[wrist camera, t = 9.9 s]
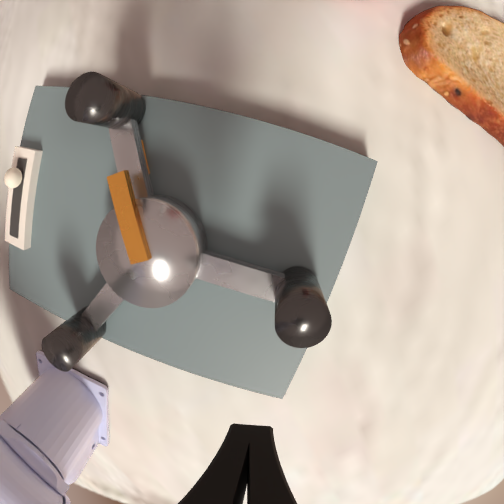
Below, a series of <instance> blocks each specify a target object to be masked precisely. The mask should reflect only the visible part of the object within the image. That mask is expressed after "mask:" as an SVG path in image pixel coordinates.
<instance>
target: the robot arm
mask: <svg viewBox="0 0 504 504" xmlns="http://www.w3.org/2000/svg"><path fill="white" fill-rule="evenodd" d="M36 357H37V365H38V372H39V377H38V378H37V379H36V380H35V381H34V382H33V383H32V384H31V385H30V386H29V387H28V388H27V389H26V390H25V391H24V392H23V393H22V394H21V395H20V396H19V397H18V398H17V399H16V400H15V401H14V402H13V403H12V404H11V405H10V406H9V407H8V408H7V409H6V410H5V411H4V412H3V413H2V414H1V416H0V504H71V503H70V499H69V498H68V496H67V495H66V492H67V491H68V489H69V485H70V484H72V483H73V482H75V481H76V480H77V479H78V477H79V475H80V474H81V472H82V470H83V469H84V467H85V465H86V464H87V462H88V460H89V459H90V457H91V455H92V454H93V452H94V450H95V449H96V447H97V445H98V444H102V445H104V446H108V445H109V427H108V388H107V387H106V386H105V385H104V384H102V383H100V382H98V381H96V380H94V379H92V378H90V377H88V376H86V375H84V374H82V373H80V372H78V371H76V370H74V369H71V370H70V371H67V372H64V371H61V370H58V369H57V368H55V367H54V366H53V365H52V364H51V363H50V362H49V361H48V359H47V358H46V356H45V354H44V352H42V351H38V352H37V353H36ZM246 486H247V504H297V502H296V501H295V499H294V496H293V494H292V492H291V490H290V488H289V485H288V483H287V481H286V478H285V475H284V473H283V470H282V467H281V465H280V461H279V458H278V455H277V451H276V447H275V442H274V436H273V428H271V427H270V426H257V425H243V424H232V425H230V428H229V431H228V433H227V435H226V437H225V440H224V442H223V443H222V445H221V447H220V449H219V451H218V452H217V454H216V456H215V457H214V459H213V460H212V462H211V463H210V465H209V466H208V468H207V469H206V471H205V472H204V474H203V475H202V476H201V477H200V479H199V480H198V481H197V483H196V484H195V485H194V486H193V488H192V489H191V490H190V491H189V492H188V493H187V495H186V496H185V497H184V498H183V499H182V500H181V501H180V502H179V503H178V504H243V500H244V495H245V491H246Z"/></svg>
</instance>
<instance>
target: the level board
mask: <svg viewBox="0 0 504 504" xmlns="http://www.w3.org/2000/svg"><path fill="white" fill-rule="evenodd" d="M69 88H70V87H55V86H36V87H35V90H34V93H33V97H32V100H31V104H30V107H29V111H28V115H27V119H26V123H25V127H24V131H23V136H22V140H21V145H20V146H15V151H14V156H13V162H12V168H10V169H9V170H8V171H7V172H6V174H5V177H4V181H5V184H6V185H7V187H9V190H8V199H7V210H6V225H5V241H6V242H8V243H9V283H10V289H11V290H12V291H14V292H16V293H17V294H19V295H21V296H22V297H24V298H26V299H28V300H29V301H31V302H33V303H35V304H36V305H38V306H40V307H42V308H44V309H45V310H47V311H49V312H51V313H53V314H55V315H57V316H58V317H60V318H62V319H64V320H68V319H69V318H70V317H72V316H73V315H74V314H75V313H77V312H78V311H79V310H81V309H82V308H84V307H88V306H89V304H90V303H91V302H92V301H93V299H94V298H95V297H96V295H97V294H98V293H99V292H100V290H101V289H102V288H103V287H104V285H105V284H106V283H107V282H106V281H105V279H104V277H103V275H102V273H101V271H100V268H99V265H98V261H97V256H96V239H97V234H98V231H99V227H100V225H101V223H102V221H103V220H104V218H105V217H106V215H107V214H108V213H109V212H110V211H111V210H112V209H113V208H114V205H113V201H112V197H111V193H110V189H109V185H108V181H107V177H108V176H110V175H113V174H115V173H118V172H117V167H116V163H115V158H114V153H113V149H112V144H111V139H110V134H109V128H106V127H101V126H96V125H92V124H87V123H82V122H77V121H74V120H72V119H70V118H69V116H68V115H67V113H66V110H65V98H66V94H67V92H68V90H69ZM141 96H142V97H143V99H144V101H145V105H146V110H145V114H144V117H143V119H142V121H141V122H140V123H139V124H138V129H139V134H140V138H141V143H142V147H143V152H144V156H145V161H146V165H147V169H148V173H149V177H150V181H151V185H152V189H153V193H154V195H165V196H170V197H173V198H176V199H178V200H180V201H182V202H183V203H185V204H186V205H188V206H189V207H190V208H191V209H192V210H193V211H194V212H195V214H196V215H197V216H198V218H199V219H200V221H201V223H202V225H203V227H204V230H205V233H206V238H207V250H209V251H213V252H216V253H219V254H222V255H226V256H229V257H232V258H236V259H239V260H242V261H245V262H249V263H252V264H255V265H259V266H262V267H265V268H269V269H272V270H275V271H279V272H283V271H284V270H286V269H287V268H290V267H294V266H302V267H305V268H308V269H309V270H311V271H312V272H313V273H314V274H315V275H316V277H317V279H318V282H319V285H320V287H321V290H322V293H323V295H324V298H325V301H326V303H327V301H328V299H329V296H330V294H331V291H332V289H333V286H334V284H335V281H336V279H337V276H338V274H339V271H340V269H341V266H342V264H343V261H344V258H345V256H346V253H347V250H348V248H349V245H350V242H351V240H352V237H353V234H354V231H355V228H356V226H357V223H358V220H359V217H360V214H361V211H362V208H363V205H364V202H365V199H366V196H367V193H368V190H369V187H370V184H371V181H372V178H373V174H374V171H375V168H376V165H377V161H375V160H373V159H371V158H368V157H366V156H363V155H361V154H358V153H356V152H353V151H350V150H348V149H345V148H343V147H340V146H337V145H334V144H332V143H329V142H326V141H323V140H320V139H318V138H315V137H312V136H309V135H306V134H303V133H300V132H297V131H294V130H290V129H287V128H284V127H281V126H277V125H274V124H271V123H267V122H264V121H260V120H257V119H253V118H249V117H245V116H242V115H238V114H234V113H230V112H226V111H222V110H217V109H213V108H209V107H204V106H199V105H195V104H190V103H185V102H180V101H175V100H169V99H163V98H158V97H152V96H145V95H141ZM105 323H106V333H105V335H104V336H103V337H102V338H104V339H106V340H108V341H110V342H113V343H115V344H117V345H120V346H122V347H124V348H127V349H129V350H131V351H134V352H136V353H139V354H141V355H144V356H146V357H149V358H151V359H154V360H157V361H159V362H162V363H165V364H167V365H170V366H173V367H176V368H178V369H181V370H184V371H187V372H190V373H193V374H196V375H199V376H202V377H205V378H208V379H211V380H215V381H218V382H221V383H224V384H228V385H231V386H235V387H238V388H242V389H245V390H249V391H253V392H257V393H260V394H264V395H268V396H272V397H276V398H281V399H282V398H283V396H284V395H285V393H286V391H287V389H288V387H289V385H290V383H291V380H292V378H293V376H294V374H295V372H296V370H297V368H298V366H299V364H300V362H301V360H302V358H303V355H304V353H305V351H306V349H307V348H295V347H292V346H289V345H287V344H285V343H284V342H283V341H282V340H281V339H280V338H279V337H278V335H277V333H276V331H275V302H272V301H268V300H265V299H262V298H258V297H255V296H251V295H248V294H245V293H241V292H238V291H235V290H232V289H228V288H225V287H222V286H219V285H215V284H212V283H209V282H206V281H203V280H200V279H195V281H194V282H193V283H192V285H191V286H190V287H189V289H188V290H187V291H186V293H185V294H184V295H183V296H182V297H181V298H179V299H178V300H177V301H175V302H174V303H172V304H170V305H167V306H164V307H160V308H144V307H139V306H136V305H133V304H131V303H129V302H127V301H126V300H124V301H123V302H122V303H121V304H120V306H119V307H118V308H117V309H116V310H115V311H114V312H113V314H112V315H111V316H110V317H109V318H108V319H107V320H106V322H105Z"/></svg>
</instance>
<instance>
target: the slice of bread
mask: <svg viewBox="0 0 504 504" xmlns="http://www.w3.org/2000/svg"><path fill="white" fill-rule="evenodd" d="M399 46H400V50H401V53H402V57H403V60H404V62H405V64H406V65H407V67H408V68H409V69H410V70H411V71H412V72H413V73H414V74H415V75H416V76H417V77H418V78H420V79H421V80H423V81H425V82H426V83H427V84H428V85H429V86H430V87H431V88H432V89H434V90H435V91H436V92H437V93H439V94H440V95H441V96H443V97H444V98H445V99H446V100H447V101H448V102H449V103H450V104H451V105H452V106H454V107H455V108H457V109H459V110H460V111H461V112H463V113H464V114H465V115H466V116H467V117H468V118H469V119H470V120H472V121H473V122H475V123H477V124H478V125H480V126H481V127H482V128H483V129H484V130H485V131H487V132H488V133H489V134H490V135H492V136H493V137H494V138H496V139H497V140H498V141H499V142H500V143H501V144H502V145H503V146H504V23H502V22H500V21H498V20H496V19H494V18H492V17H490V16H488V15H486V14H485V13H483V12H481V11H478V10H475V9H472V8H467V7H463V6H436V7H433V8H430V9H428V10H425V11H423V12H421V13H420V14H418V15H416V16H415V17H413V18H412V19H411V20H410V21H409V22H408V23H407V24H406V25H405V27H404V29H403V31H402V32H401V33H400V35H399Z"/></svg>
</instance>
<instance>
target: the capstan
mask: <svg viewBox="0 0 504 504" xmlns="http://www.w3.org/2000/svg"><path fill="white" fill-rule="evenodd" d="M65 110H66V113H67V115H68V116H69V118H70V119H72V120H74V121H77V122H82V123H87V124H92V125H96V126H101V127H106V128H109V134H110V139H111V144H112V149H113V153H114V158H115V163H116V167H117V172H118V173H115V174H113V175H110V176H108V177H107V181H108V185H109V189H110V193H111V197H112V201H113V205H114V208H113V209H112V210H111V211H110V212H109V213H108V214H107V215H106V217H105V218H104V220H103V221H102V223H101V225H100V227H99V231H98V234H97V239H96V256H97V261H98V265H99V268H100V271H101V273H102V275H103V277H104V279H105V281H106V282H107V283H106V284H105V285H104V287H103V288H102V289H101V290H100V292H99V293H98V294H97V295H96V297H95V298H94V299H93V301H92V302H91V303H90V304H89V306H88V307H84V308H82V309H81V310H79V311H78V312H77V313H75V314H74V315H73V316H72V317H70V318H69V319H68V320H66V321H65V322H64V323H63V324H61V325H60V326H59V327H57V328H56V329H55V330H54V331H52V332H51V333H50V334H49V335H47V336H46V337H45V338H44V339H43V341H42V349H43V352H44V354H45V356H46V358H47V359H48V361H49V362H50V363H51V364H52V365H53V366H54V367H55V368H57V369H58V370H61V371H64V372H67V371H70V370H71V369H72V368H73V367H74V366H75V365H76V363H77V362H78V361H79V360H80V359H81V358H82V357H83V356H84V355H85V354H86V353H87V352H88V351H89V350H90V349H91V348H92V347H93V346H94V345H95V344H96V343H97V342H98V341H99V340H100V339H101V338H102V337H103V336H104V335H105V333H106V323H105V322H106V320H107V319H108V318H109V317H110V316H111V315H112V314H113V312H114V311H115V310H116V309H117V308H118V307H119V306H120V304H121V303H122V302H123V301H124V300H126V301H127V302H129V303H131V304H133V305H136V306H139V307H144V308H160V307H164V306H167V305H170V304H172V303H174V302H175V301H177V300H178V299H179V298H181V297H182V296H183V295H184V294H185V293H186V291H187V290H188V289H189V287H190V286H191V285H192V283H193V282H194V281H195V279H200V280H203V281H206V282H209V283H212V284H215V285H219V286H222V287H225V288H228V289H232V290H235V291H238V292H241V293H245V294H248V295H251V296H255V297H258V298H262V299H265V300H268V301H272V302H275V331H276V333H277V335H278V337H279V338H280V339H281V340H282V341H283V342H284V343H285V344H287V345H289V346H292V347H295V348H308V347H312V346H314V345H316V344H318V343H320V342H321V341H322V340H323V339H324V338H325V337H326V336H327V335H328V333H329V331H330V328H331V322H332V320H331V315H330V312H329V309H328V306H327V304H326V301H325V298H324V295H323V293H322V290H321V287H320V285H319V282H318V279H317V277H316V275H315V274H314V273H313V272H312V271H311V270H309V269H308V268H305V267H302V266H294V267H290V268H287V269H286V270H284V271H283V272H279V271H275V270H272V269H269V268H265V267H262V266H259V265H255V264H252V263H249V262H245V261H242V260H239V259H236V258H232V257H229V256H226V255H222V254H219V253H216V252H213V251H209V250H207V238H206V233H205V230H204V227H203V225H202V223H201V221H200V219H199V218H198V216H197V215H196V214H195V212H194V211H193V210H192V209H191V208H190V207H189V206H188V205H186V204H185V203H183V202H182V201H180V200H178V199H176V198H173V197H170V196H165V195H154V193H153V189H152V185H151V181H150V177H149V173H148V169H147V165H146V161H145V156H144V152H143V147H142V143H141V138H140V134H139V129H138V124H139V123H140V122H141V121H142V119H143V117H144V114H145V110H146V105H145V101H144V99H143V97H142V96H141V95H140V94H138V93H136V92H135V91H133V90H131V89H129V88H127V87H125V86H123V85H121V84H119V83H117V82H115V81H113V80H111V79H109V78H107V77H105V76H103V75H101V74H99V73H96V72H87V73H85V74H82V75H81V76H79V77H78V78H77V79H76V80H75V81H74V82H73V83H72V84H71V86H70V88H69V90H68V92H67V94H66V98H65Z"/></svg>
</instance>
